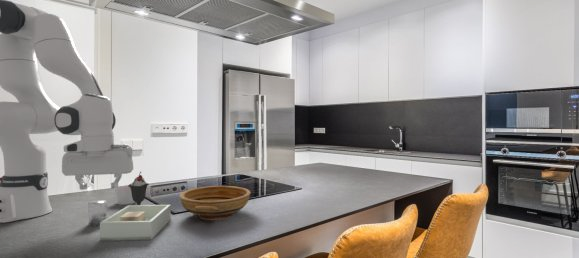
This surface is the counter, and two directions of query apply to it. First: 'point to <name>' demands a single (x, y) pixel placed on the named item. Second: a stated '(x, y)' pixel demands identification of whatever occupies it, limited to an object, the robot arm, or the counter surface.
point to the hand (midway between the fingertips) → (99, 188)
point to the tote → (135, 223)
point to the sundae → (138, 189)
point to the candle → (124, 195)
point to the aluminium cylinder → (97, 212)
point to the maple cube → (133, 216)
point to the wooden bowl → (214, 201)
